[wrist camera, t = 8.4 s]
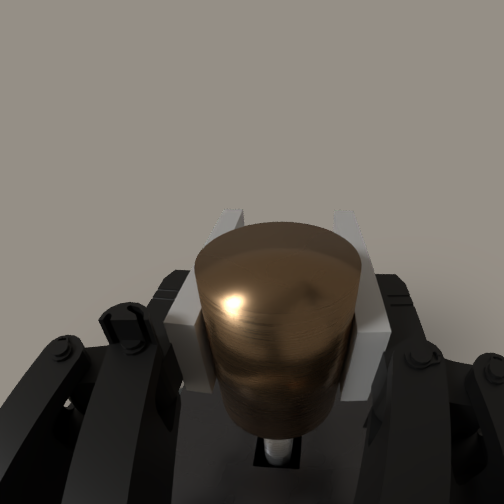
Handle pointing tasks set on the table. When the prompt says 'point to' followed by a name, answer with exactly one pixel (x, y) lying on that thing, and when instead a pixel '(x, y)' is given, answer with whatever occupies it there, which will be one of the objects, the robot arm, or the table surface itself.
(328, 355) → the plunger
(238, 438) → the press carafe
